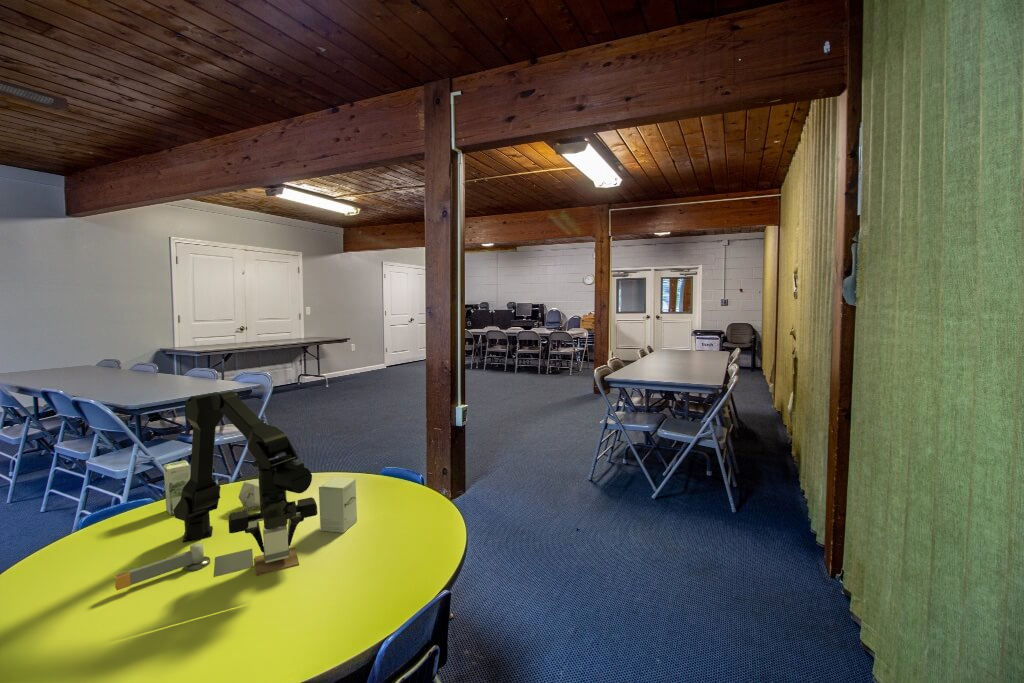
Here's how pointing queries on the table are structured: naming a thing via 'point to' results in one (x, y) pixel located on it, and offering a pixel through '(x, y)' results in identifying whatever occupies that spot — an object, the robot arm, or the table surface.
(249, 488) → the die
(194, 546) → the bar
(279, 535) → the beige tall block
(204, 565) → the clip base
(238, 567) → the socket plate
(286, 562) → the walnut pad
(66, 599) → the table surface
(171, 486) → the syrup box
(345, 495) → the supplement box
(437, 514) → the table surface
